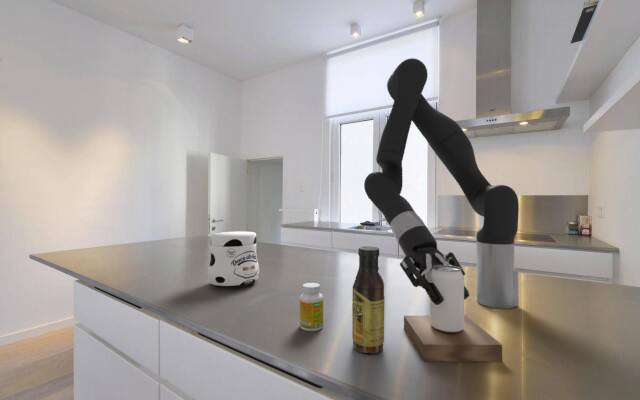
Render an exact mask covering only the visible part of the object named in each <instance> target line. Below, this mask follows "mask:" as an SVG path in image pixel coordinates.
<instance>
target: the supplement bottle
mask: <svg viewBox="0 0 640 400" xmlns="http://www.w3.org/2000/svg"><path fill="white" fill-rule="evenodd" d="M320 291H321V284H320V283H316V282H306V283H303V284H302V292H303V293H301V295H300V297H299V326H300V329H302V330H303V331H306V332H317V331H320V330H321V329H323V327H324V296H323V294H322V293H320Z"/></svg>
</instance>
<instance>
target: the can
mask: <svg viewBox="0 0 640 400" xmlns="http://www.w3.org/2000/svg"><path fill="white" fill-rule="evenodd" d="M462 269H463V268H462ZM462 269H461V268H459V267H456V266H451V265H434V266H432V273H431V277H432V283H434V284H435V286H436V287H437V289H438V290H439V292H440V293H441V295H442V297H443V299H444V300H443V302H442V303H440V304H439V305H435V304H434V302H432V301H431V299H430V298H429V316H430V324H431V325H432V327H433V328H435V329H437V330H439V331H443V332H448V333H457V332H460V331H462V330H463V329H464V316H465V300H464V286H465V279H464V278H465V277H464V276H465V275H464V276H463V274H462V272H461V270H462Z"/></svg>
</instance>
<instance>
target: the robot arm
mask: <svg viewBox="0 0 640 400" xmlns="http://www.w3.org/2000/svg"><path fill="white" fill-rule="evenodd" d="M428 75H429V74H428V68H427V67H426V65H425V63H423V61H421V60H420V59H417V58H413V57H412V58H411V57H410V58H406V59H404V60H403V61H401V62H400V63H399V64H398V65H397V66H396V68H395V69H394V70H393V72H392V73H391V75H390V76H389V77H388V80H387V82H386V83H387V84H386V88H387V92H388V94H389V97H391V100H393V103H392V104H393V105H392V107H391V111H390V114H389V116H388V118H387V121H386V123H385V126H384V128H383V131H382V133H381V137H380V141H379V144H378V150H377V153H376V159H375V160H376V163H377V165H378V166H379V167H380V168H381V170H382V171H372V172H371V173H369V174H367V176H366V177H365V179H364V183H363V186H364V187H363V188H364V192H365V193H366V196H367V197H368V199H369V201H371V203H372V204H373V205H374V206H375V207H376V208H377V209H378V210H379V211H380V212H381V213H382V215H383V216H384V219H385V221H386V222H387V223H388V226H389V228H390V229H391V231H392V234H393V237H394V238H395V241H397V243H398V245H399V247H400V248H401V251H402V253H404V256H405V257H404V258H403V259H402V260H401V262H400V263H399V266H400V267H401V269H402V270H403V272H404V273H405V275H406V277H407V278H408V280H409V282H410V283H411V284H412V285H413V287H415V288H418V287H421V288H422V289H423V290H425V292H426V294H427V296H428V297H429V300H430V299H431V301H432V302H434V304H435V305H439V304H440V303H442V302H443V300H444V299H443V297H442V295H441V293H440V292H439V290H438V289H437V287H436V286H435V284H434V283H432V277H431V273H432V266H434V265H451V266H456V267H459V268H461V269H462V270H461V272H462V274H463V276H465V275H466V272H465V270H464V269H463V267H462V266H461V264H460V262H459V261H458V259H457V258H456V256H455V254H454V253H453V252H451V251H449V252H448V253H447V254H443V253H442V252H441V251H440V250H439V249H438V242H437V240H436V239H435V237H434V235H433V234H432V232H431V231H430V230H429V228H428V226H427V225H426V224H425V221H423V219H422V218H421V217H420V216H419V215H418V214H417V213H416V211H415V209H414V208H413V206H412V205H411V204H410V202H409V201H408V200H407V199H406V198H405V197H404V196H402V195H401V193H402V190H403V181H404V179H403V158H404V156H405V151H406V145H407V142H408V138H409V132H410V129H411V126H412V123H413V124H414V125H415V127H416V128H417V130H418V131H419V132H420V134H421V135H422V136H423V138H424V139H425V140H426V142H427V143H428V146H430V148H431V149H432V151H433V152H434V154H435V155H436V156H437V157H438V159H439V160H440V161H441V163H442V164H443V166H444V167H445V168H446V170H447V171H448V172H449V174H450V175H451V176H452V177H453V179H454V180H455V181H456V182H457V184H458V185H459V187H460V189H461V191H462V192H463V194H464V197H465V198H466V201H468V203H469V205H470V207H471V208H472V209H473V211H474V212H475V213H476V214H477V215H479V216H481V217H483V225H482V227H481V229H479V230H478V231H477V232H476V238H475V239H476V240H475V241H476V302H477V303H478V304H480V305H481V306H482V305H483V306H484V307H485V306H486V307H489V308H492V309H502V310H503V309H504V310H507V309H508V310H509V309H513V308H517V307H519V303H520V302H519V301H520V300H519V272H518V271H517V270H516V269H515V237H516V236H517V233H518V229H519V210H520V208H519V198H518V195H517V193H516V191H515V190H514V189H513V188H512V187H510V186H508V185H505V184H495V185H492V184H491V183H490V182H489V180H487V178H486V177H485V175H483V173H482V172H481V170H480V169H479V166H478V164H477V161H476V156H475V152H474V148H473V145H472V143H471V140H470V139H469V138H468V135H467V134H466V133H465V131H464V130H463V129H462V127H461V126H460V125H459V123H457V122H456V120H453V118H451V117H449V116H448V115H446V114H444V113H442V112H441V111H439V110H437V109H435V107H433V106H432V105H431V104H430V103H429V101H428V100H427V98H425V96H424V95H423V90H424V88H425V86H426V83H427V81H428ZM469 297H470V293H469V290H468V289H467V287H466V286H465V285H464V301H466V300H467V298H469Z"/></svg>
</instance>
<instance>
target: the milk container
mask: <svg viewBox="0 0 640 400" xmlns="http://www.w3.org/2000/svg"><path fill="white" fill-rule="evenodd" d="M257 247H258V245H257V233H256V232H254V231H223V232H215V233H212V234H211V235H210V262H209V265H208V269H207V278H208V282H209V283H210V285H212V286H214V287H216V288H222V289H233V288H234V289H236V288H237V289H238V288H243V287H247V286H250V285H252V284H254V283H256V282H257V280H258V278H259V275H260V265H259V262H258V258H257Z"/></svg>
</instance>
